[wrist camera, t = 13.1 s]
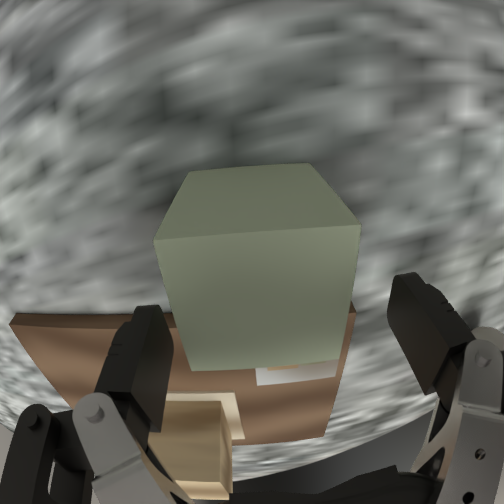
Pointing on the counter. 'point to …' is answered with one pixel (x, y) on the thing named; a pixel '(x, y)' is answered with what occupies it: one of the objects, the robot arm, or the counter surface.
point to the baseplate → (192, 376)
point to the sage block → (258, 266)
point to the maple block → (196, 448)
